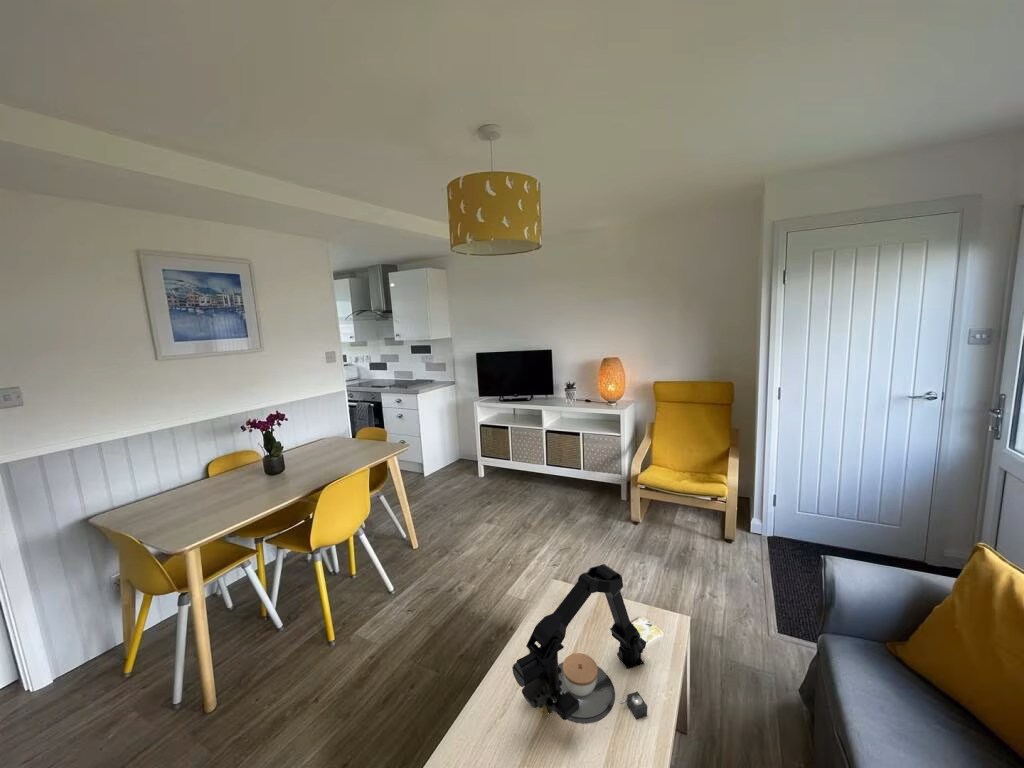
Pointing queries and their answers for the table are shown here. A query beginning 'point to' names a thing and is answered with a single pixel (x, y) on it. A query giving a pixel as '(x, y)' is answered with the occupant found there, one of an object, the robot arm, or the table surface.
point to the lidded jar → (580, 674)
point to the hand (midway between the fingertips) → (550, 713)
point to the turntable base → (599, 715)
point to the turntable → (589, 697)
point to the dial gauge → (636, 705)
